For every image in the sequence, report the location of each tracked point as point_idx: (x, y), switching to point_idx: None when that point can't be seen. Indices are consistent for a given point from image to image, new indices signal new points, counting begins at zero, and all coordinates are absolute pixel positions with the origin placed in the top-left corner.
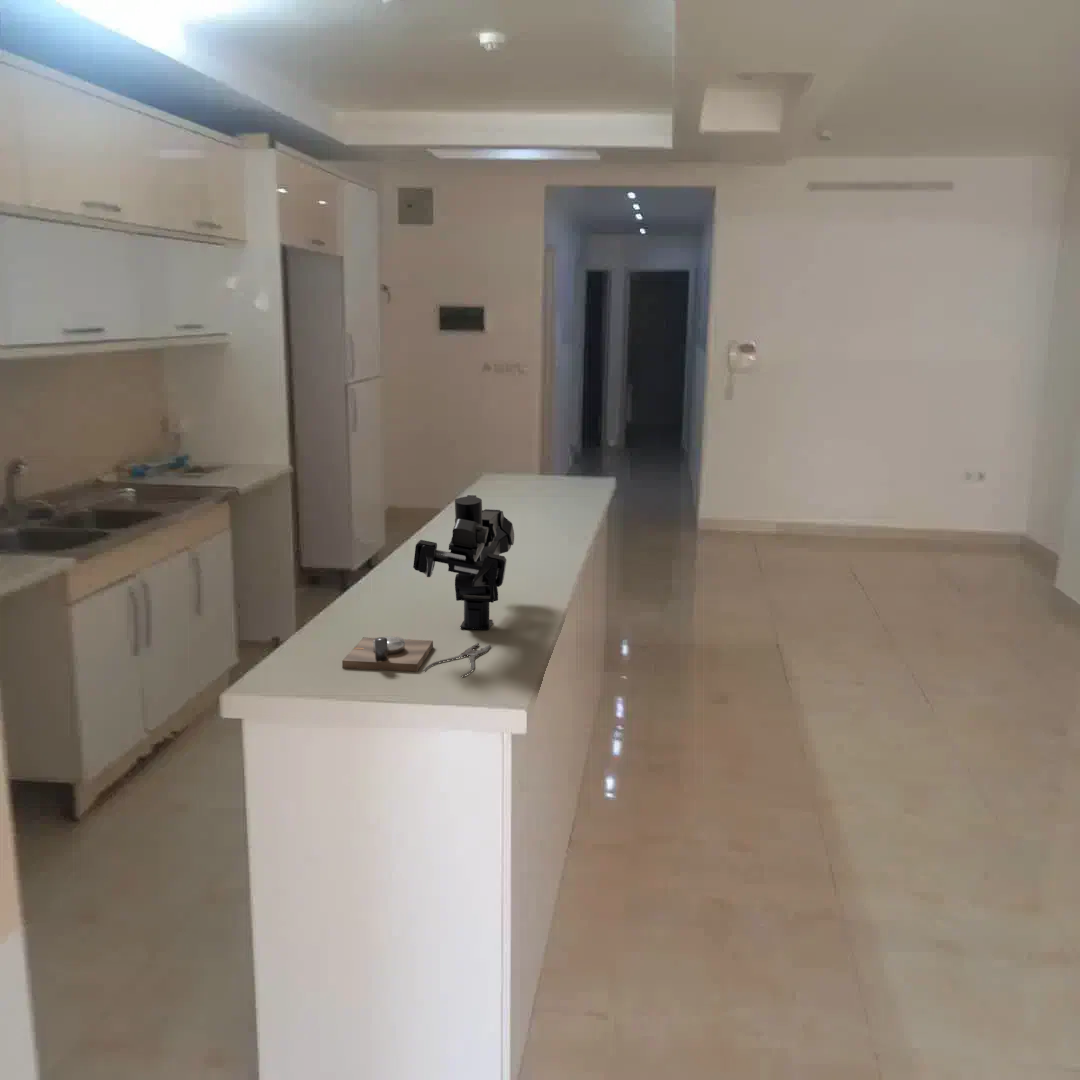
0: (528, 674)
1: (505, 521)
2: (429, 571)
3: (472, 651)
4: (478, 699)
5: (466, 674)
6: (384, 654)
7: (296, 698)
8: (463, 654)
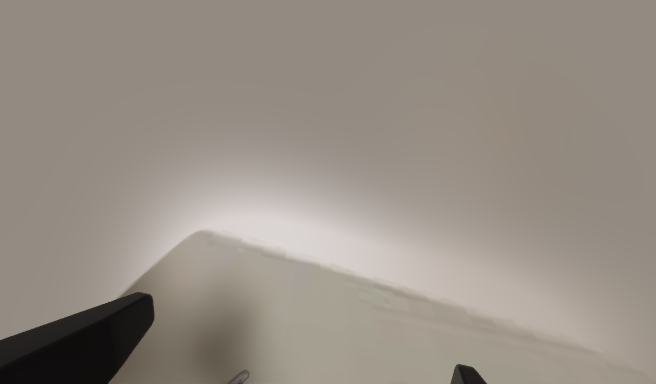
0: None
1: None
2: (464, 372)
3: None
4: (246, 266)
5: (231, 382)
6: None
7: (528, 327)
8: None
